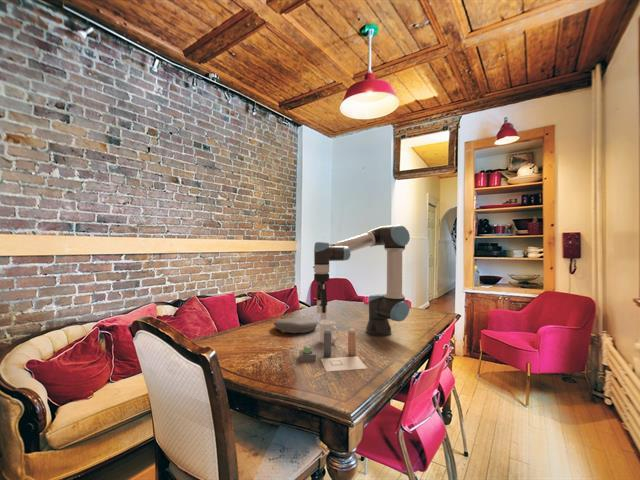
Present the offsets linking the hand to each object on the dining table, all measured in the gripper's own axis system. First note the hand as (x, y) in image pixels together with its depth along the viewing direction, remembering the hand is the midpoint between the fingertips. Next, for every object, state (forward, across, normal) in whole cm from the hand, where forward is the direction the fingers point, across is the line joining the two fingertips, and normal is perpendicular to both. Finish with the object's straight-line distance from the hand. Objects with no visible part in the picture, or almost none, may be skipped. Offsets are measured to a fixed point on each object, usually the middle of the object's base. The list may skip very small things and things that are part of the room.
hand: (321, 316), depth 149 cm
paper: (+18, +14, +8) cm, 25 cm away
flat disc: (+19, -44, -10) cm, 49 cm away
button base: (+19, +6, -7) cm, 21 cm away
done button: (+17, +6, -7) cm, 19 cm away
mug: (+19, -16, +7) cm, 26 cm away
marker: (+18, +3, +3) cm, 19 cm away
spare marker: (+18, +4, +15) cm, 24 cm away
